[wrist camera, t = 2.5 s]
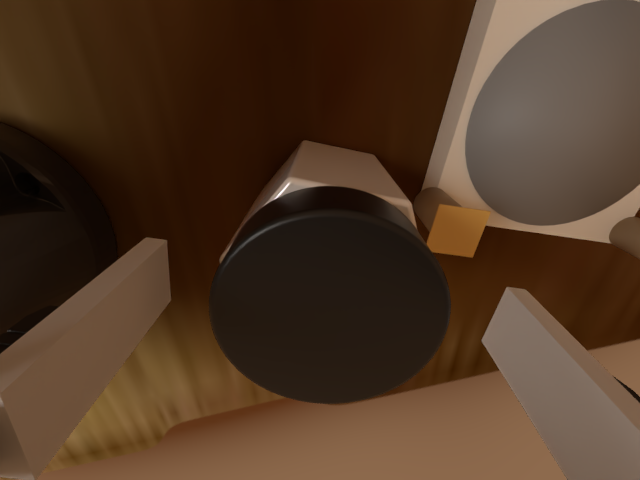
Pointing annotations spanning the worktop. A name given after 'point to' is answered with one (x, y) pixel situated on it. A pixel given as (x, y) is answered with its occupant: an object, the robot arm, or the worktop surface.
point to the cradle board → (540, 127)
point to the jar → (329, 282)
